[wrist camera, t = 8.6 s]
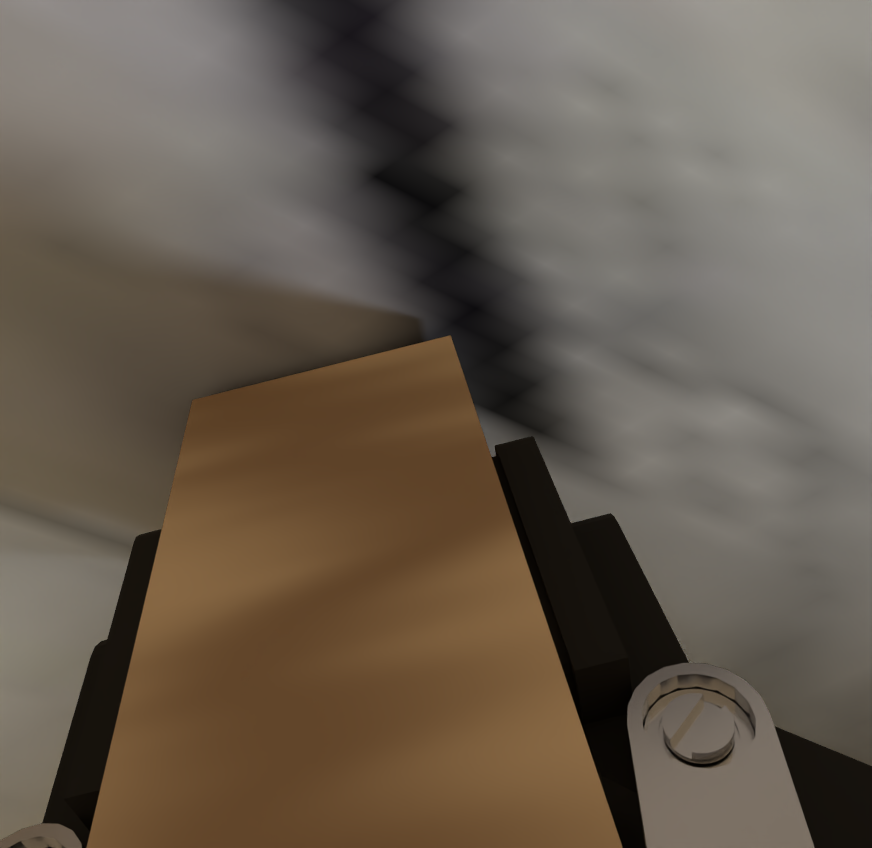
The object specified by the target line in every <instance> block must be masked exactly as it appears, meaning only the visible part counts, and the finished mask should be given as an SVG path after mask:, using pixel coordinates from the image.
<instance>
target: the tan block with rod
mask: <svg viewBox="0 0 872 848" xmlns="http://www.w3.org/2000/svg"><path fill="white" fill-rule="evenodd" d="M87 848H623V847H622V844H621V841H620V838H619V835H618V832H617V829H616V826H615V823H614V821H613V818H612V815H611V812H610V809H609V806H608V803H607V800H606V797H605V794H604V791H603V788H602V785H601V782H600V779H599V776H598V773H597V770H596V767H595V764H594V761H593V758H592V755H591V752H590V749H589V746H588V743H587V740H586V737H585V734H584V731H583V728H582V725H581V722H580V719H579V716H578V713H577V710H576V707H575V704H574V701H573V698H572V696H571V693H570V690H569V687H568V684H567V681H566V678H565V675H564V672H563V669H562V666H561V663H560V660H559V657H558V654H557V651H556V648H555V645H554V642H553V639H552V636H551V633H550V630H549V627H548V624H547V621H546V618H545V615H544V612H543V609H542V606H541V603H540V600H539V597H538V594H537V591H536V588H535V585H534V582H533V579H532V576H531V573H530V571H529V568H528V565H527V562H526V559H525V556H524V553H523V550H522V547H521V544H520V541H519V538H518V535H517V532H516V529H515V526H514V523H513V520H512V517H511V514H510V511H509V508H508V505H507V502H506V499H505V496H504V493H503V490H502V487H501V484H500V481H499V478H498V475H497V472H496V469H495V466H494V463H493V460H492V457H491V454H490V451H489V448H488V446H487V443H486V440H485V437H484V434H483V431H482V428H481V425H480V422H479V419H478V416H477V413H476V410H475V407H474V404H473V401H472V398H471V395H470V392H469V389H468V386H467V383H466V380H465V377H464V374H463V371H462V368H461V365H460V362H459V359H458V356H457V353H456V350H455V347H454V344H453V341H452V338H451V335H450V336H446V337H442V338H438V339H434V340H430V341H426V342H422V343H418V344H414V345H410V346H406V347H402V348H398V349H394V350H390V351H386V352H382V353H378V354H374V355H370V356H366V357H362V358H358V359H354V360H350V361H346V362H342V363H338V364H334V365H330V366H326V367H322V368H318V369H314V370H310V371H306V372H302V373H298V374H294V375H290V376H286V377H282V378H278V379H274V380H270V381H266V382H262V383H258V384H254V385H250V386H246V387H242V388H238V389H234V390H230V391H226V392H222V393H218V394H214V395H210V396H206V397H202V398H198V399H194V400H192V404H191V408H190V412H189V416H188V421H187V425H186V429H185V433H184V438H183V442H182V446H181V450H180V454H179V459H178V463H177V467H176V471H175V476H174V480H173V484H172V488H171V493H170V497H169V501H168V505H167V509H166V514H165V518H164V522H163V526H162V531H161V535H160V539H159V543H158V548H157V552H156V556H155V560H154V564H153V569H152V573H151V577H150V581H149V586H148V590H147V594H146V598H145V602H144V607H143V611H142V615H141V619H140V624H139V628H138V632H137V636H136V641H135V645H134V649H133V653H132V657H131V662H130V666H129V670H128V674H127V679H126V683H125V687H124V691H123V696H122V700H121V704H120V708H119V712H118V717H117V721H116V725H115V729H114V734H113V738H112V742H111V746H110V751H109V755H108V759H107V763H106V767H105V772H104V776H103V780H102V784H101V789H100V793H99V797H98V801H97V805H96V810H95V814H94V818H93V822H92V827H91V831H90V835H89V839H88V844H87Z"/></svg>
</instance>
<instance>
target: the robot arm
mask: <svg viewBox="0 0 872 848" xmlns="http://www.w3.org/2000/svg"><path fill="white" fill-rule="evenodd" d="M495 452H496V456H494V457H492V460H493V463H494V466H495V469H496V472H497V475H498V478H499V481H500V484H501V487H502V490H503V493H504V496H505V499H506V502H507V505H508V508H509V511H510V514H511V517H512V520H513V523H514V526H515V529H516V532H517V535H518V538H519V541H520V544H521V547H522V550H523V553H524V556H525V559H526V562H527V565H528V568H529V571H530V573H531V576H532V579H533V582H534V585H535V588H536V591H537V594H538V597H539V600H540V603H541V606H542V609H543V612H544V615H545V618H546V621H547V624H548V627H549V630H550V633H551V636H552V639H553V642H554V645H555V648H556V651H557V654H558V657H559V660H560V663H561V666H562V669H563V672H564V675H565V678H566V681H567V684H568V687H569V690H570V693H571V696H572V698H573V701H574V704H575V707H576V710H577V713H578V716H579V719H580V722H581V725H582V728H583V731H584V734H585V737H586V740H587V743H588V746H589V749H590V752H591V755H592V758H593V761H594V764H595V767H596V770H597V773H598V776H599V779H600V782H601V785H602V788H603V791H604V794H605V797H606V800H607V803H608V806H609V809H610V812H611V815H612V818H613V821H614V823H615V826H616V829H617V832H618V835H619V838H620V841H621V844H622V847H623V848H872V766H870V765H867V764H865V763H862V762H860V761H857V760H855V759H853V758H850V757H848V756H845V755H843V754H840V753H838V752H836V751H833V750H831V749H828V748H826V747H823V746H821V745H819V744H816V743H814V742H811V741H809V740H806V739H804V738H801V737H799V736H797V735H794V734H792V733H789V732H787V731H784V730H782V729H780V728H777V727H775V726H774V723H773V720H772V717H771V714H770V712H769V710H768V708H767V706H766V704H765V703H764V701H763V699H762V697H761V695H760V694H759V693H758V692H757V691H756V690H755V689H754V688H753V687H752V686H751V685H750V684H749V683H748V682H747V681H746V680H744V679H743V678H741V677H739V676H737V675H736V674H734V673H732V672H730V671H728V670H727V669H723V668H720V667H716V666H713V665H709V664H706V663H689V662H688V660H687V658H686V656H685V654H684V652H683V650H682V648H681V646H680V644H679V642H678V640H677V638H676V636H675V634H674V632H673V630H672V628H671V626H670V624H669V622H668V620H667V618H666V617H665V615H664V613H663V611H662V609H661V607H660V605H659V603H658V601H657V599H656V597H655V595H654V593H653V591H652V589H651V587H650V585H649V583H648V581H647V579H646V577H645V575H644V573H643V571H642V569H641V567H640V565H639V563H638V561H637V559H636V557H635V555H634V553H633V551H632V549H631V547H630V545H629V543H628V541H627V540H626V538H625V536H624V534H623V532H622V530H621V528H620V526H619V524H618V522H617V520H616V519H615V517H614V516H613V515H612V514H611V513H610V514H606V515H602V516H598V517H594V518H590V519H586V520H582V521H578V522H574V523H570V521H569V518H568V516H567V514H566V511H565V509H564V507H563V504H562V502H561V500H560V497H559V495H558V493H557V490H556V488H555V486H554V483H553V481H552V479H551V476H550V474H549V472H548V469H547V467H546V465H545V462H544V460H543V458H542V455H541V453H540V451H539V448H538V446H537V444H536V441H535V439H534V437H532V436H531V437H527V438H523V439H519V440H515V441H512V442H508V443H504V444H500V445H496V446H495ZM161 531H162V529H161V530H157V531H153V532H149V533H145V534H141V535H139V536H137V537H136V539H135V541H134V544H133V548H132V552H131V555H130V559H129V563H128V566H127V570H126V573H125V577H124V581H123V584H122V588H121V592H120V595H119V599H118V603H117V606H116V610H115V614H114V617H113V621H112V625H111V628H110V632H109V635H108V639H107V640H104V641H101V642H100V643H99V644H97V645H96V646H95V648H94V650H93V653H92V655H91V658H90V661H89V664H88V668H87V671H86V675H85V678H84V682H83V685H82V689H81V692H80V695H79V699H78V702H77V706H76V709H75V713H74V716H73V720H72V723H71V726H70V730H69V733H68V737H67V740H66V744H65V747H64V751H63V754H62V757H61V761H60V764H59V768H58V771H57V775H56V778H55V782H54V785H53V788H52V792H51V795H50V799H49V802H48V806H47V809H46V813H45V816H44V819H43V823H41V824H37V825H34V826H30V827H27V828H23V829H21V830H19V831H17V832H15V833H13V834H11V835H9V836H8V837H6V838H4V839H2V840H1V841H0V848H87V844H88V839H89V835H90V831H91V827H92V822H93V818H94V814H95V810H96V805H97V801H98V797H99V793H100V789H101V784H102V780H103V776H104V772H105V767H106V763H107V759H108V755H109V751H110V746H111V742H112V738H113V734H114V729H115V725H116V721H117V717H118V712H119V708H120V704H121V700H122V696H123V691H124V687H125V683H126V679H127V674H128V670H129V666H130V662H131V657H132V653H133V649H134V645H135V641H136V636H137V632H138V628H139V624H140V619H141V615H142V611H143V607H144V602H145V598H146V594H147V590H148V586H149V581H150V577H151V573H152V569H153V564H154V560H155V556H156V552H157V548H158V543H159V539H160V535H161Z"/></svg>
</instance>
